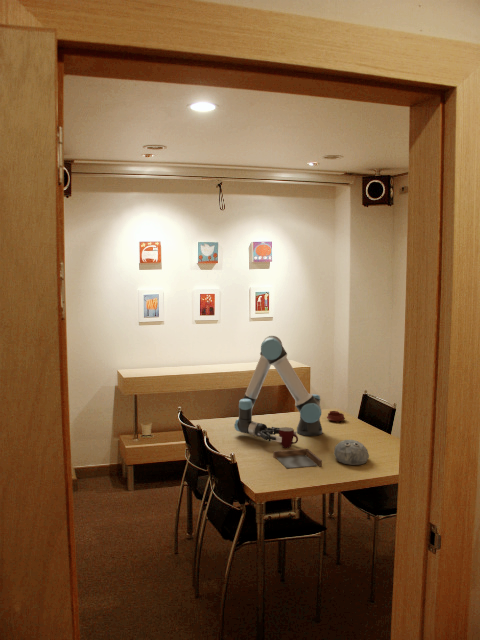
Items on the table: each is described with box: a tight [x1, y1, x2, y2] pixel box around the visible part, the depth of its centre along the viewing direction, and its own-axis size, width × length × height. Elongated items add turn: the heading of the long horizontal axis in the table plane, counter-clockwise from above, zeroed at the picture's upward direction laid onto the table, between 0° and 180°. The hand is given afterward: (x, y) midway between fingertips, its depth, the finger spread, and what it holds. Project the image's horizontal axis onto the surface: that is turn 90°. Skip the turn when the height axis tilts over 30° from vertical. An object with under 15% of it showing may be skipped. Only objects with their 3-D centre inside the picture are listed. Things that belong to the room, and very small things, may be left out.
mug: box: [278, 426, 299, 449], centre depth 300 cm, size 10×8×10 cm
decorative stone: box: [333, 439, 370, 466], centre depth 280 cm, size 18×21×10 cm
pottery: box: [326, 410, 346, 423], centre depth 360 cm, size 12×20×4 cm, turn 175°
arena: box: [272, 448, 323, 470], centre depth 278 cm, size 19×19×3 cm
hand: (288, 437), depth 299 cm, fingers open, 13 cm apart
